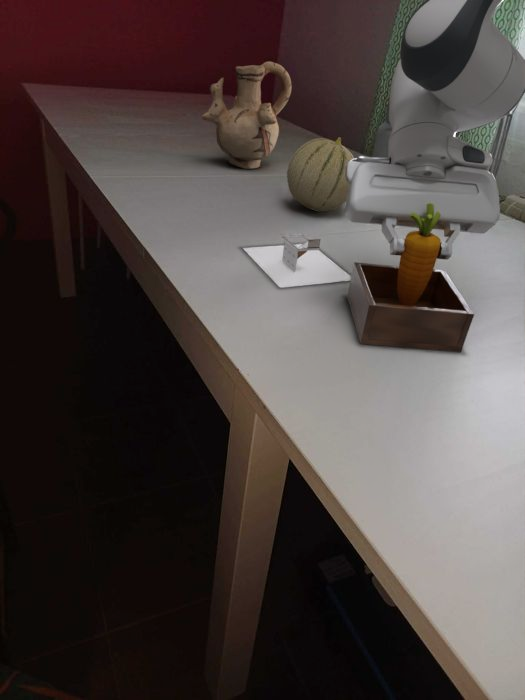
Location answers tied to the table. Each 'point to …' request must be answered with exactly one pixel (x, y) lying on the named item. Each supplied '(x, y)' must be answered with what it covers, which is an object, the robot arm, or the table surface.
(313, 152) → the cantaloupe
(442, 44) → the robot arm
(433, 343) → the basket
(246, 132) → the ceramic vessel
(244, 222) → the table surface
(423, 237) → the carrot
